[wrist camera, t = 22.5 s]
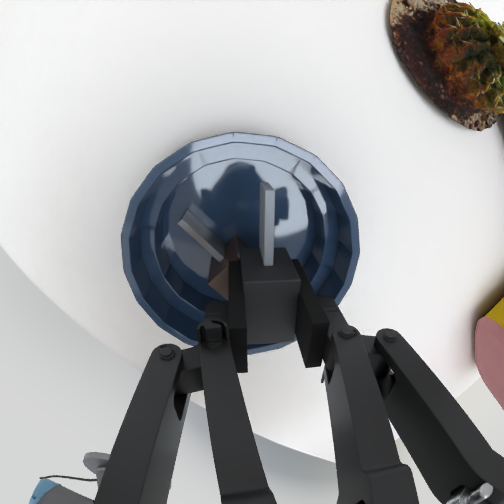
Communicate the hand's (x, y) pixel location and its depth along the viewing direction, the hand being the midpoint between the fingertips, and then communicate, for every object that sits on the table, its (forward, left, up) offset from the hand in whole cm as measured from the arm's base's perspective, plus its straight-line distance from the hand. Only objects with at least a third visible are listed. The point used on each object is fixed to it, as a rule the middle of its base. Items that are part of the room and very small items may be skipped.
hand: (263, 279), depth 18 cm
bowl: (-1, +2, -6) cm, 6 cm away
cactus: (+27, +7, -6) cm, 29 cm away
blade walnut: (-2, +2, -5) cm, 6 cm away
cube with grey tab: (+1, +2, 0) cm, 2 cm away
